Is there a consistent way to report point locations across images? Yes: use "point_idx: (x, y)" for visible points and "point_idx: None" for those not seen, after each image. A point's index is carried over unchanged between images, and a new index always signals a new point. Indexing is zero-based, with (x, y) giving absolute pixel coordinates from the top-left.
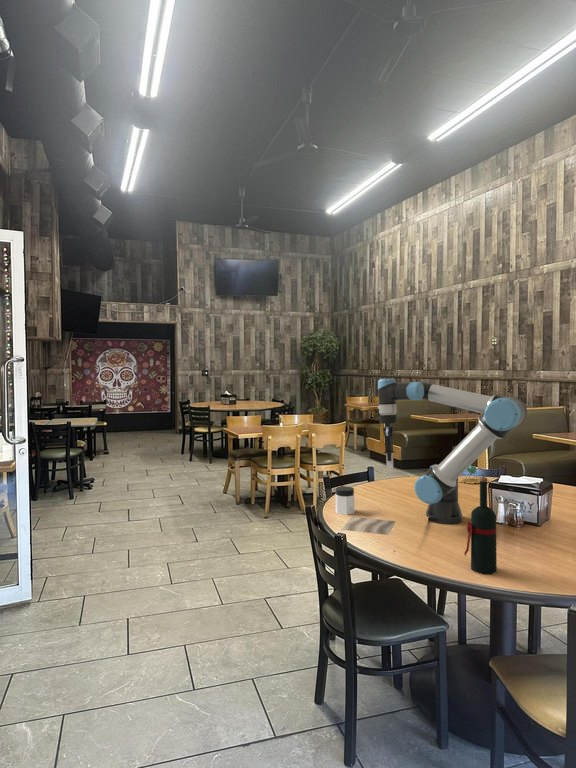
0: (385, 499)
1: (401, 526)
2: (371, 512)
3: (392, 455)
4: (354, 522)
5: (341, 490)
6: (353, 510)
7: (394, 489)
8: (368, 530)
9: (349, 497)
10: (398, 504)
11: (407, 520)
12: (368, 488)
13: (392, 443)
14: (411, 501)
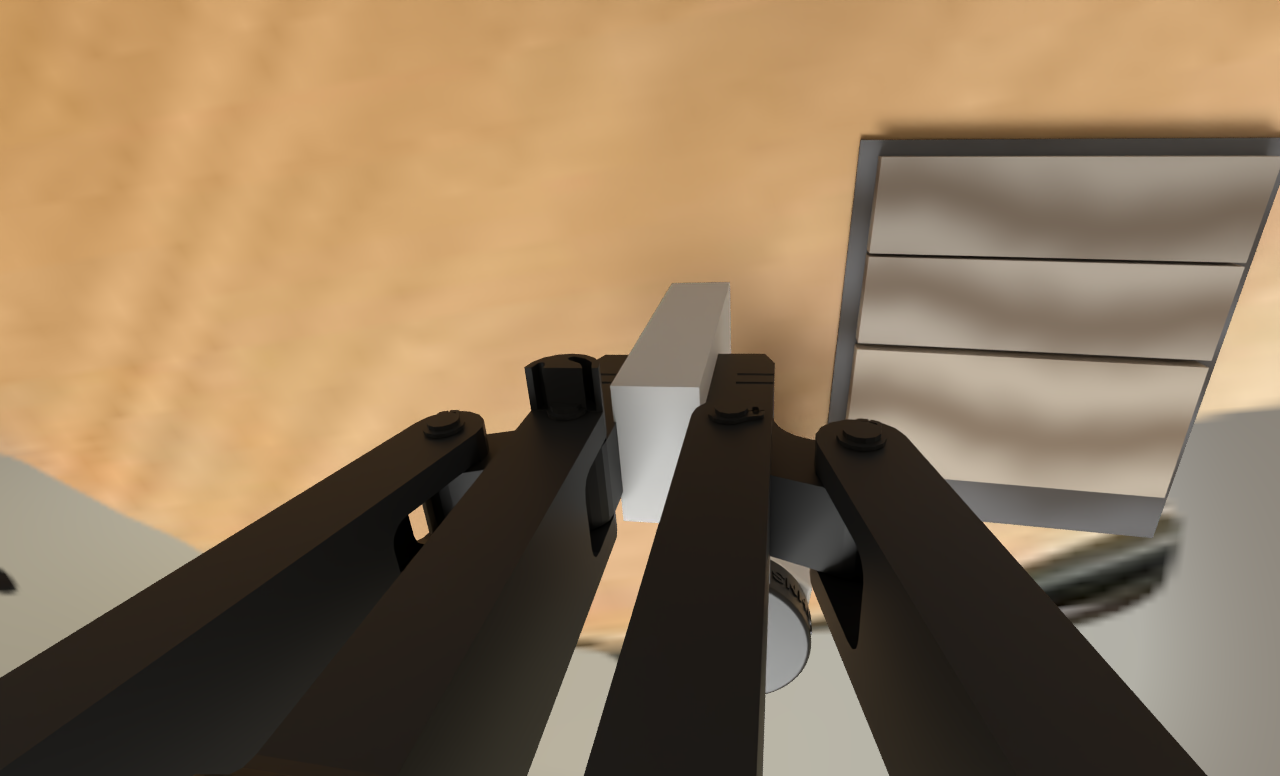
0: (300, 326)
1: (917, 101)
2: None
3: (702, 366)
4: (985, 439)
5: (806, 656)
6: None
7: (49, 303)
8: (1174, 320)
9: (788, 564)
10: (370, 220)
11: (744, 81)
12: (131, 461)
13: (350, 529)
14: (251, 136)
